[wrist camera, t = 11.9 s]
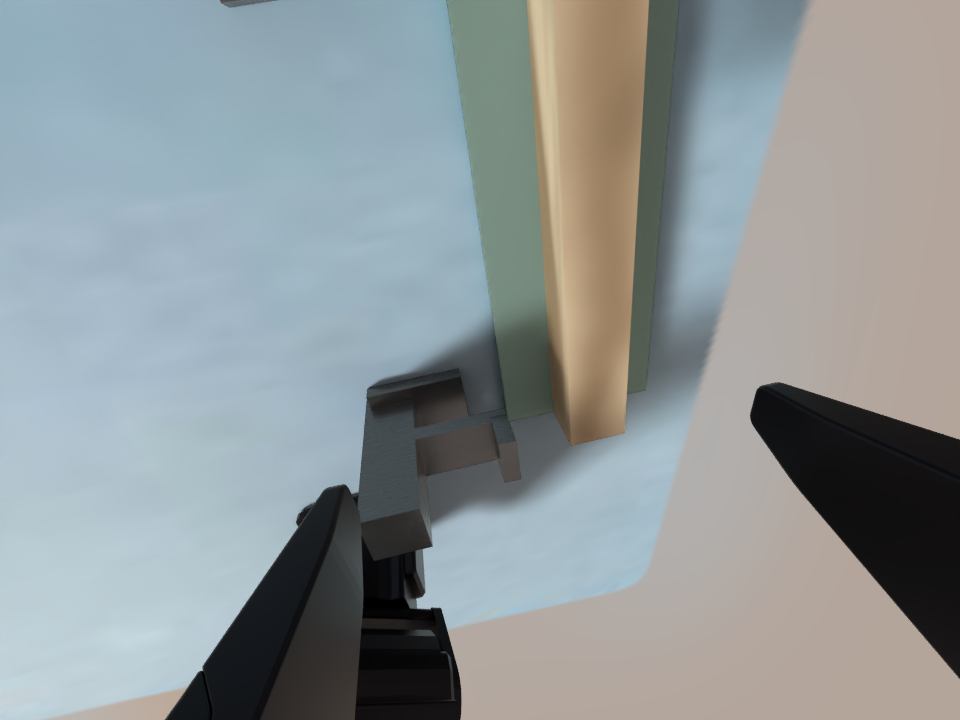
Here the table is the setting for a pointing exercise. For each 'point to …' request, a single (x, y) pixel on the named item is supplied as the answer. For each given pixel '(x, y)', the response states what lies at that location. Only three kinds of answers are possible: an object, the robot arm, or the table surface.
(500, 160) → the mat
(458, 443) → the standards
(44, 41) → the table surface
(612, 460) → the table surface
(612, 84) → the rail
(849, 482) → the robot arm
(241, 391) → the table surface
